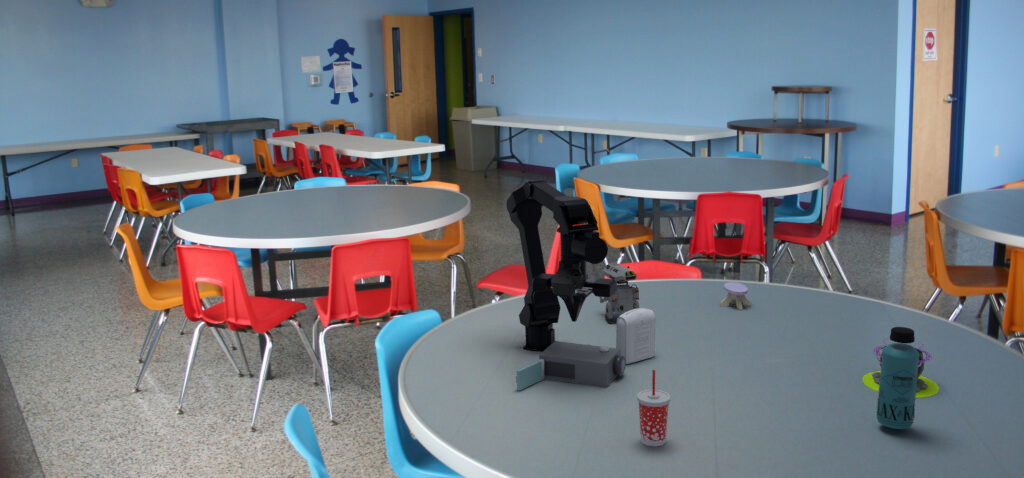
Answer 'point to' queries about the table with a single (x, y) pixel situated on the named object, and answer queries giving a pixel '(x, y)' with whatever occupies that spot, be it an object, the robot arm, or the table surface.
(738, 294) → the toy table
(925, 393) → the toy cauldron
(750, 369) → the table surface
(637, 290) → the figurine
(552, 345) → the box
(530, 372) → the side door
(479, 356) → the table surface
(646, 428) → the beverage cup
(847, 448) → the table surface
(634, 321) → the photo printer
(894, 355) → the beverage bottle
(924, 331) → the table surface
